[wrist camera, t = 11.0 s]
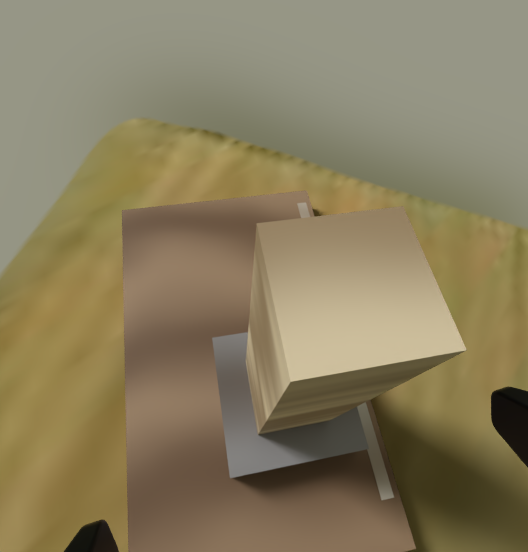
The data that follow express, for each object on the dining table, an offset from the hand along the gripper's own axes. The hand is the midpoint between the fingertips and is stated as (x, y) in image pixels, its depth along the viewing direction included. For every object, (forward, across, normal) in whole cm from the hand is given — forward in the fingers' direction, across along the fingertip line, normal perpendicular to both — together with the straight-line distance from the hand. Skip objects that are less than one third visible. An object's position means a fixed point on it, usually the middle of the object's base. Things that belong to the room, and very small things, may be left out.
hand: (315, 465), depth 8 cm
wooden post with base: (+9, -1, +5) cm, 11 cm away
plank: (+12, +1, +4) cm, 13 cm away
